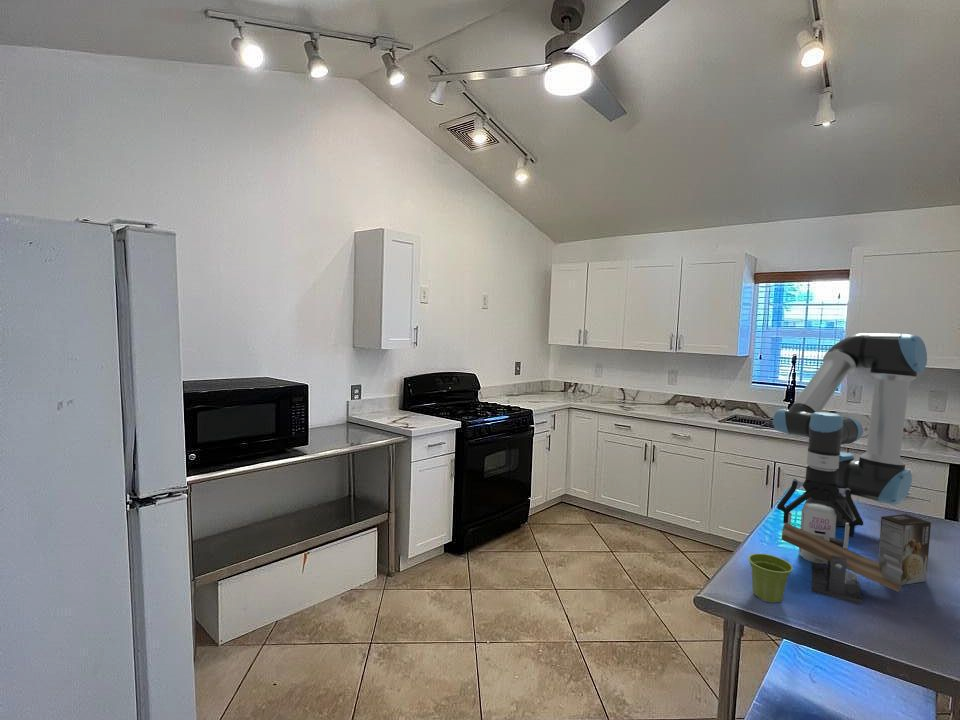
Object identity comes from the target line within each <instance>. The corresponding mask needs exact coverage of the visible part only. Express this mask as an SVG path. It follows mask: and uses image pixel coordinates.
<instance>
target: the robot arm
mask: <svg viewBox="0 0 960 720" xmlns="http://www.w3.org/2000/svg"><path fill="white" fill-rule="evenodd" d="M927 353H928V352H927V348H926V345H925V342H924V340H923V339H922V337H920V336H919V335H917V334H909V333H886V332H885V333H877V332H874V333H873V332H871V333H870V332H862V333H861V332H860V333H855V334H853V335H850V336H847V337H845V338H843V339H842V340H840V341H838V342H837V343H836V344H834V345H832V346H831V347H830V348H829V350H827V352H826V353H825V354H824V355H823V358H822V364H821V365H820V367H819V368H818V370H816V372H815V374H814V375H813V376H812V378H811V379H810V380H809V382H808V383H807V384H806V386H805V387H804V388H803V389H802V390H801V393H800V394H799V395H798V397H797V398H796V399H795V401H794V403H792V405H791V406H790V408H789V409H788V408H780V409H777V410H776V411H775V413H774V414H773V419H772V423H773V426H774V429H775V430H776V431H777V432H780V433H783V434H786V435H793V436H798V437H802V438H803V437H804V438H808V447H807V457H806V464H807V466H805V480H804V482H803V481H800V480H798V479H792V482H791V486H790V487H789V488H788V490H787V491H786V492H785V494H784V495H783V496H782V498H781V499H780V501H779V502H778V503H777V505H776V506H777V507H776V508H777V509H778V510H780V511H782V513H783V519H782V521H783V524H784V523H788V524H790V525H792V515H793V513H792V512H793V510H794V509H796V508H797V507H798V506H799V505H801V504H803V503H804V504H803V506H802V508H803V507H804V506H805V504H806V503H817V504H823V505H826V506H829V507H831V508H833V509H834V511H835V513H836V515H837V516H836V527H844V536H843V537H844V538H843V539H844V540H843V542H844V544H843V548H846V549H848V550H849V539H850V538H854V536H855V528H856V526H860V527H861V526H864V521H863V519H862V516H861V514H860V512H859V510H858V509H857V506H856V504H855V502H854V500H853V498H852V496H855V497H858V498H859V497H860V498H864V499H867V500H871V501H875V502H878V503H879V504H882V503H883V504H887V505H892V506H895V505H896V506H897V505H899V504H901V503H902V502H904V500H905V499H906V497H907V496H908V494H909V491H910V489H911V486H912V482H913V478H912V476H913V475H912V472H911V471H909V470H908V469H906V462H904V460H903V459H901V453H902V452H901V450H902V445H903V444H902V443H903V435H904V430H905V429H904V427H905V419H906V412H907V403H908V397H909V389H910V383H911V382H912V381H914V380H916V379H917V375H918V373H922V372H924V371H925V369H926V366H927V365H928V364H927V362H928V354H927ZM859 368H865V369H870V371H869V372H870V373H869V375H871V376H872V377H873V378H874V386H873V394H872V403H871V411H870V418H869V419H870V420H869V426H868V434H867V443H866V450H865V452H863V453H862V454H861V455H859V459H855V455H854V454H853V453H850V452H846V451H845V452H844V451H841V446H842V445H846V444H847V445H848V444H853V443H855V442H857V441H859V440H860V439H861V438H862V436H863V434H864V430H863V426H862V424H861V422H860V421H858V419H856V418H853V417H850V416H849V417H847V416H842V415H840V414H839V413H834V412H828V411H827V412H826V411H825V412H824V411H822V410H823V409H824V407H825V406H826V405H827V404H828V402H829V401H830V400H831V397H833V395H834V394H835V392H836V391H837V389H838V388H839V386H840V385H841V384H842V382H843V381H844V379H846V376H847V375H850V374H852V373H853V372H854V371H856V369H859ZM801 488H803V489H804V490H805V491H804V492H803V493H802V494H801V495H799V497H797V498H796V499H794V500H793V501H792V502H790V503H789V504H788V505H786V504H787V502H788V501H789V500H790V499H791V497H792V496H793V495H794V494H795V492H796V490H799V489H801ZM785 505H786V506H785Z"/></svg>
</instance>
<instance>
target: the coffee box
mask: <svg viewBox="0 0 960 720" xmlns="http://www.w3.org/2000/svg"><path fill="white" fill-rule="evenodd" d="M880 517H881V519H880V532H879V543H878V558H877V562H878V563H880V560H881V558H882V556H883V554H885V555H888V556H890V557H892V558H895V559H897V560H898V561H899V564H900V566H901V569H902V571H903V574H902V576H901V578H900V580H899V582H900V585H901V586H904V585H910V584H916V583H917V584H918V583H923V582H927V575H928V565H929V564H928V562H929V553H930V537H931V527H932V526H931V524H932V522H930V521H928V520H925V519H921V518H919V517H915V516H913V515H910V514H906V513H905V514H904V513H903V514H895V515H886V516H885V515H884V516H880Z"/></svg>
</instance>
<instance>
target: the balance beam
mask: <svg viewBox="0 0 960 720" xmlns="http://www.w3.org/2000/svg"><path fill="white" fill-rule="evenodd" d="M781 541H783V542H786V543H789V544H790V545H793V546H795V547H797V548H798V549H799V548H801V549H804V550H806V551H808V552H810V553H812V554H815V555H817V556H819V557H821V558H824V559H826V560H828V561H830V562H831V555H833V556H838V557H842V558H846V561H847V563H846V570H847V571H849V572H854V573H857V575H860V576H862V577H864V578H866V579H869V580H871V581H873V582H875V583H878V584H880V585H882V586H884V587H886V588H888V589H890V590H893V591H895V592H898V593H899V592H900V589H901V587H902V585H900V582H899V580H900V578H901V576H902V574H903V571H902V569H901V566H900V564H899V561H898V560H897V559H895V558H892V557H890V556H888V555H885V554H883V556H882V558H881V560H880V563H878V561H875V560H873V559H871V558H868V557H866V556H865V555H864V556H863V555H861V554H859V553H857V552H855V551H853V550H850V549H849V548H848V549H846V548H844V546H843V547H841V546H839V545H836V544H834V543H832V542H829V541H827V540H825V539H822V538H820V537H818V536H816V535H813V534H811V533H809V532H806V531H804V530H802V529H800V528H799V527H796V526H795V525H792V524H791V525H790V524H788V523H784V522H783V526H782V531H781Z"/></svg>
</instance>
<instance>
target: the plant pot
mask: <svg viewBox="0 0 960 720" xmlns="http://www.w3.org/2000/svg"><path fill="white" fill-rule="evenodd" d="M747 558H748V562H749V564H750V565H749V566H750V567H751V577H752V590H753V591H752V593H753V595H754V596H757V598H758V599H759V600H762V601H764V602H767V603H771V604H775V603H781V602H782V600H783V597H784V593H785V589H786V585H787V581H788V577H790V574H791V573H792V572H793V570H794V567H793V566H792V563H790V562H788V561H787V560H785V559H783V558H781V557H778V556H775V555H772V554H767V553H752V554H750V555H749V556H747Z"/></svg>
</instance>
